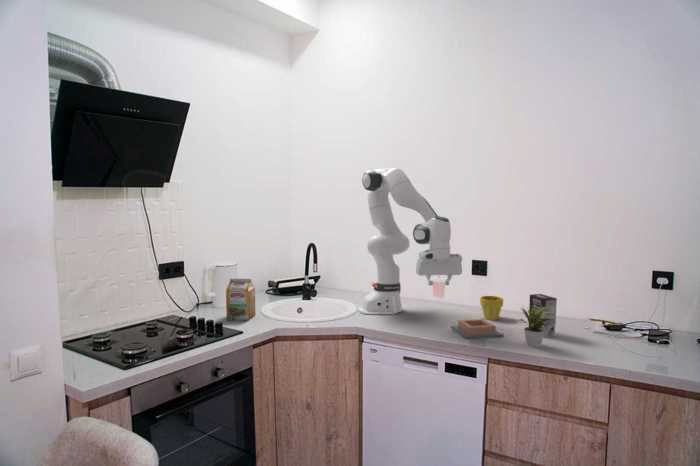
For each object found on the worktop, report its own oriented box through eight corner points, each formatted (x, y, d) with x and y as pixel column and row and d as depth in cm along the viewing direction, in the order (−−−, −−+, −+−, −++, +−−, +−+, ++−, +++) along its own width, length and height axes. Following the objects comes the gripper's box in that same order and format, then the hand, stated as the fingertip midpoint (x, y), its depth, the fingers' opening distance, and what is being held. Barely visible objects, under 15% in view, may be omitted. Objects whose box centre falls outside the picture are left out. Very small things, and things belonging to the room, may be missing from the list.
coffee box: (527, 331, 196) (528, 294, 194) (539, 330, 198) (540, 293, 197) (543, 337, 187) (544, 298, 186) (556, 336, 189) (557, 297, 188)
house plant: (515, 350, 172) (516, 307, 170) (507, 339, 185) (508, 299, 184) (555, 352, 170) (556, 308, 168) (544, 340, 183) (546, 300, 182)
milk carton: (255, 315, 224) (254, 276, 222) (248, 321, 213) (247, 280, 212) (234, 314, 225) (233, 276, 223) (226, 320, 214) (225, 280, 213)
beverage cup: (435, 297, 206) (436, 266, 205) (447, 299, 202) (448, 267, 201) (428, 299, 202) (429, 267, 200) (441, 301, 198) (442, 269, 196)
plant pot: (498, 322, 210) (498, 301, 210) (476, 318, 217) (476, 298, 216) (505, 317, 218) (506, 297, 218) (484, 314, 225) (485, 294, 224)
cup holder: (466, 338, 186) (466, 329, 185) (451, 327, 201) (451, 318, 201) (503, 336, 188) (503, 327, 188) (485, 326, 204) (485, 317, 204)
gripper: (459, 252, 205) (458, 283, 206) (415, 253, 201) (414, 284, 203) (465, 254, 199) (463, 286, 200) (419, 255, 195) (419, 287, 197)
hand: (438, 285), depth 201 cm, fingers closed on beverage cup, 6 cm apart
